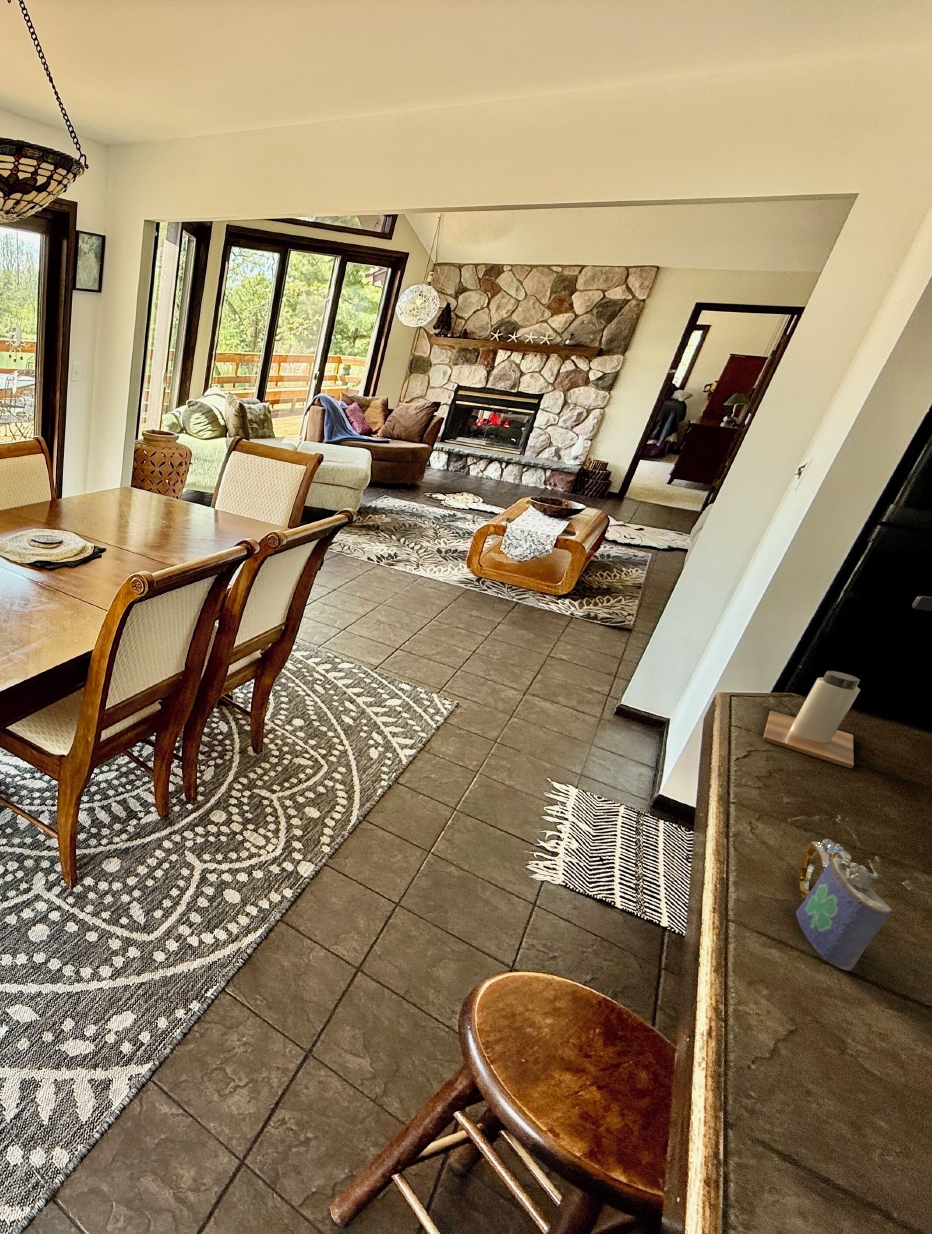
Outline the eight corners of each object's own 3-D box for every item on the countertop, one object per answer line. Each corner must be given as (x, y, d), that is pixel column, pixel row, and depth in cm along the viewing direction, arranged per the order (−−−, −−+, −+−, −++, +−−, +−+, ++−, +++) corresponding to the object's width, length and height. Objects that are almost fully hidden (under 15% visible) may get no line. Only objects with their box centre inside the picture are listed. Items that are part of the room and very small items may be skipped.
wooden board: (851, 768, 109) (854, 764, 109) (762, 740, 116) (764, 736, 116) (851, 738, 119) (853, 734, 119) (769, 713, 126) (770, 710, 126)
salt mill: (821, 733, 119) (855, 673, 114) (836, 746, 114) (872, 685, 110) (784, 725, 121) (815, 666, 116) (797, 737, 116) (831, 677, 112)
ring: (781, 875, 83) (811, 824, 80) (816, 889, 81) (849, 837, 78) (785, 905, 78) (818, 851, 75) (823, 920, 76) (858, 866, 73)
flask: (853, 980, 68) (908, 901, 64) (815, 967, 69) (867, 889, 65) (817, 921, 76) (864, 848, 72) (783, 911, 77) (827, 838, 73)
